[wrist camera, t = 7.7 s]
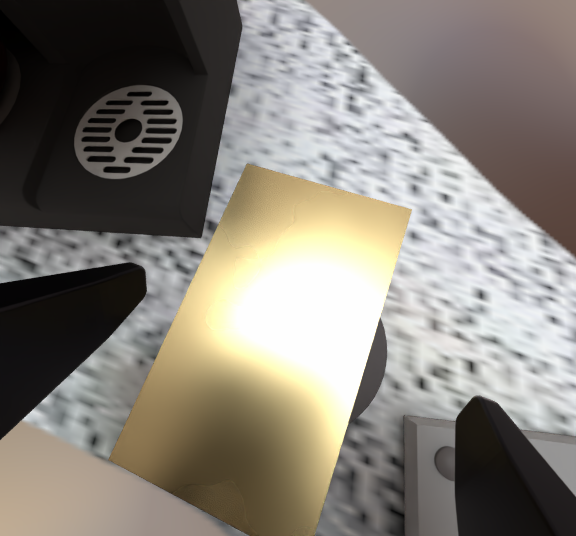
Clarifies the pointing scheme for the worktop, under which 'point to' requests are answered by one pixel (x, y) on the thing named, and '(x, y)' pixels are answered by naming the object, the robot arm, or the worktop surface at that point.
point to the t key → (267, 354)
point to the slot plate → (441, 472)
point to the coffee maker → (113, 112)
